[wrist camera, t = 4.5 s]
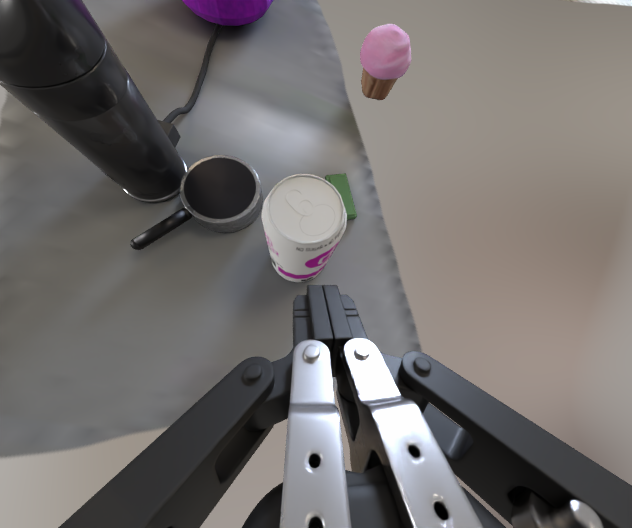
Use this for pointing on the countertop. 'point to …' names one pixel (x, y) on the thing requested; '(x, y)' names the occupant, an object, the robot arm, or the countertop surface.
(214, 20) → the decorative plant
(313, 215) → the supplement can
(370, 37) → the cupcake
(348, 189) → the green rectangular block
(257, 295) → the countertop surface
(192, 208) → the saucepan
